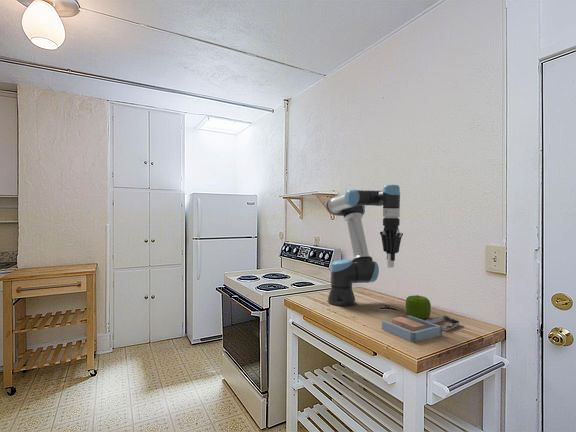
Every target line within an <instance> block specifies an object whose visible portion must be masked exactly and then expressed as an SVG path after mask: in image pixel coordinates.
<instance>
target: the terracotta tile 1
mask: <svg viewBox="0 0 576 432" xmlns="http://www.w3.org/2000/svg"><path fill="white" fill-rule="evenodd" d="M390 320H391V322H390V323H392V324H395V325H397V326H400V327H402V328H403V322H408V321H413V320H410V319H407V317H404V316H397V317H393V318H391V319H390Z"/></svg>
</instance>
